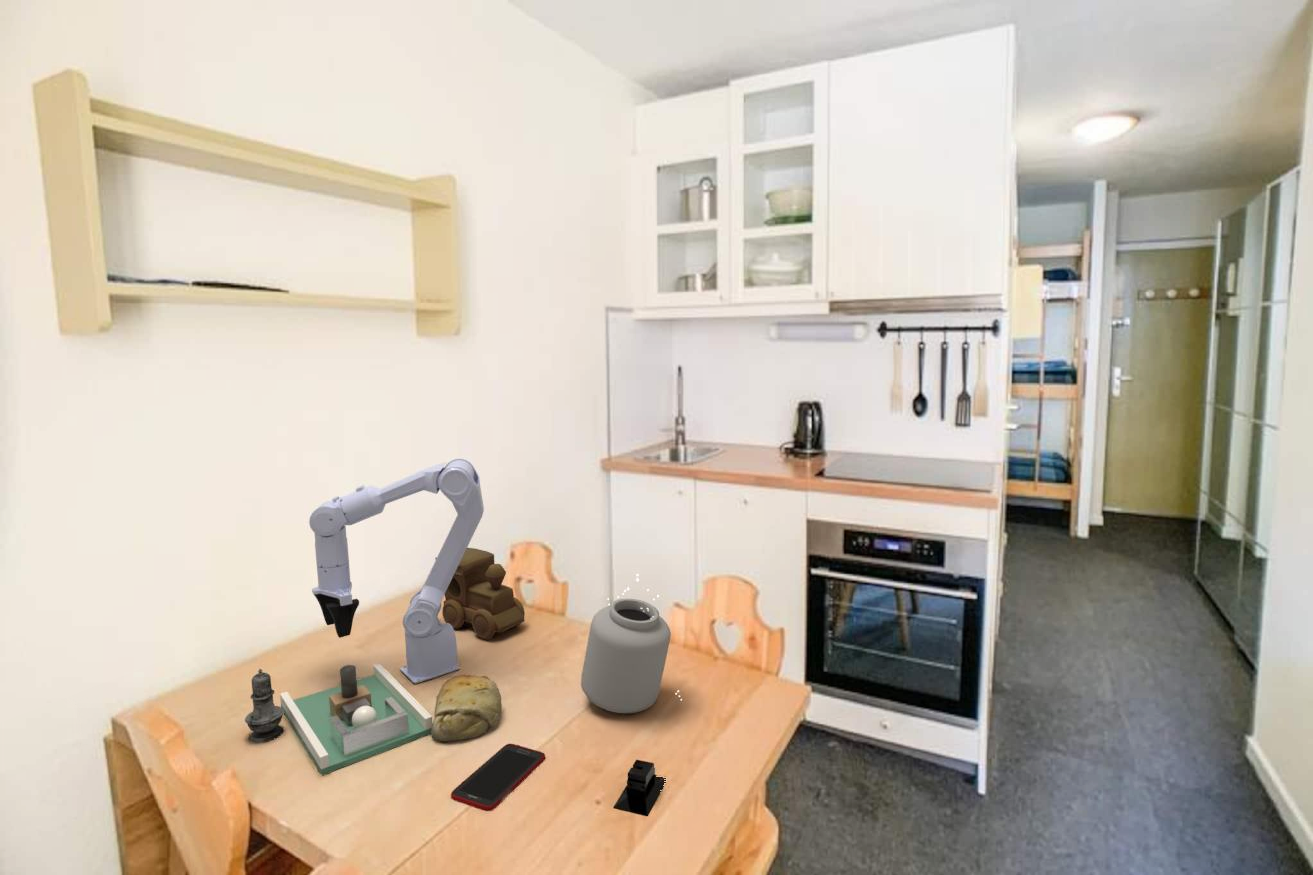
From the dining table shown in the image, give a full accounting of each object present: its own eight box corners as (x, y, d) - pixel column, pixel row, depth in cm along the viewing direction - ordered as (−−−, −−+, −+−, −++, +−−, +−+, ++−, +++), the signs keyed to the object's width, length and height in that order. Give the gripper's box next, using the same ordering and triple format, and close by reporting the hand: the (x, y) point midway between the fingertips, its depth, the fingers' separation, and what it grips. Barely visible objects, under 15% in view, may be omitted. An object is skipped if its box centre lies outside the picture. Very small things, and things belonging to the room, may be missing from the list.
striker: (364, 700, 130) (361, 659, 129) (377, 715, 125) (374, 673, 123) (330, 711, 126) (326, 669, 125) (342, 727, 121) (338, 684, 120)
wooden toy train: (435, 625, 166) (431, 557, 164) (473, 609, 176) (470, 545, 173) (493, 645, 155) (490, 573, 153) (530, 627, 164) (528, 559, 162)
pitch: (380, 677, 141) (379, 663, 140) (433, 732, 121) (432, 716, 121) (281, 708, 129) (279, 693, 129) (321, 775, 110) (320, 757, 109)
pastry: (481, 695, 134) (479, 655, 133) (520, 719, 125) (518, 677, 124) (411, 725, 124) (409, 682, 123) (448, 753, 115) (446, 708, 114)
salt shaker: (268, 745, 118) (261, 678, 116) (238, 741, 119) (231, 675, 117) (293, 726, 124) (287, 662, 122) (264, 723, 125) (258, 659, 123)
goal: (392, 715, 125) (391, 696, 125) (408, 733, 119) (407, 714, 119) (330, 736, 118) (329, 717, 118) (344, 757, 113) (343, 737, 112)
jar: (692, 693, 134) (692, 566, 130) (662, 733, 120) (661, 594, 117) (604, 675, 141) (601, 555, 137) (566, 711, 128) (562, 579, 124)
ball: (376, 701, 121) (382, 724, 120) (370, 703, 124) (375, 726, 123) (352, 709, 118) (357, 733, 117) (346, 711, 121) (352, 735, 120)
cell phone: (547, 758, 114) (547, 753, 114) (490, 814, 101) (490, 808, 101) (508, 747, 117) (508, 741, 117) (448, 800, 104) (447, 794, 104)
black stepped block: (634, 767, 112) (634, 740, 111) (678, 776, 110) (678, 749, 109) (602, 817, 101) (602, 788, 100) (650, 829, 98) (650, 799, 97)
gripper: (300, 558, 140) (306, 623, 142) (321, 577, 129) (327, 647, 131) (338, 551, 144) (343, 614, 146) (361, 569, 133) (366, 636, 135)
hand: (338, 629), depth 139 cm, fingers open, 7 cm apart
